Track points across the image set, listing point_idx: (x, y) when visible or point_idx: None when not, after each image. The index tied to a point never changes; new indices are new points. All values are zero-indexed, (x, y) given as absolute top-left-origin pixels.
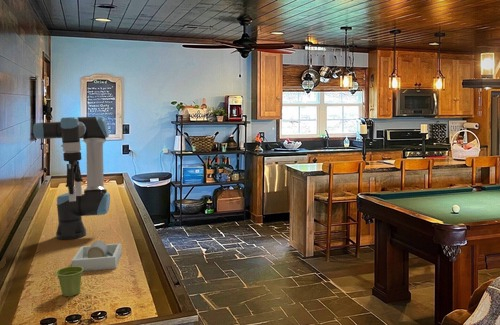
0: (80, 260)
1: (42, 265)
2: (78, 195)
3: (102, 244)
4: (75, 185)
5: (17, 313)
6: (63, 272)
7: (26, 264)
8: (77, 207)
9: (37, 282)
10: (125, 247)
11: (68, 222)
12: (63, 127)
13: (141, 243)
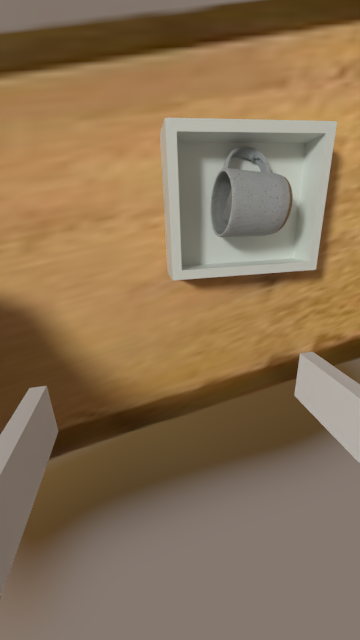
0: (318, 243)
1: (215, 359)
2: (52, 413)
3: (256, 181)
4: (16, 539)
5: None
6: None
7: (196, 398)
8: None
9: (331, 325)
10: (71, 125)
11: None
12: None
13: (10, 42)
